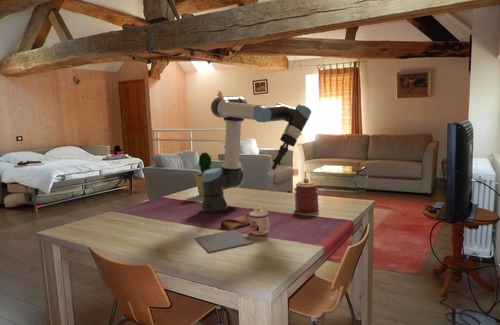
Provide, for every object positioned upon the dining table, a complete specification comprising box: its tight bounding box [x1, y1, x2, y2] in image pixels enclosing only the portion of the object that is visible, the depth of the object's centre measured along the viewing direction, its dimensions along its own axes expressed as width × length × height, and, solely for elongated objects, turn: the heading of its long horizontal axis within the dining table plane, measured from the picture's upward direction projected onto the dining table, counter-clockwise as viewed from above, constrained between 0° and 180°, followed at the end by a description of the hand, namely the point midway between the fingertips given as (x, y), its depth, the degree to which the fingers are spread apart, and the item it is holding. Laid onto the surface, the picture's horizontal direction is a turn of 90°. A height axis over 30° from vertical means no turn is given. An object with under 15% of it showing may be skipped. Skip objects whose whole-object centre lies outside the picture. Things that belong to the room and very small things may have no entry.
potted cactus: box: [194, 152, 212, 198], centre depth 253 cm, size 15×15×30 cm
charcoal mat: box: [194, 229, 255, 254], centre depth 164 cm, size 20×20×1 cm
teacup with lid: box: [248, 206, 271, 236], centre depth 172 cm, size 12×9×12 cm
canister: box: [293, 177, 320, 213], centre depth 206 cm, size 13×13×18 cm
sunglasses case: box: [220, 213, 250, 231], centre depth 186 cm, size 18×7×7 cm, turn 130°
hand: (270, 175), depth 179 cm, fingers open, 13 cm apart
